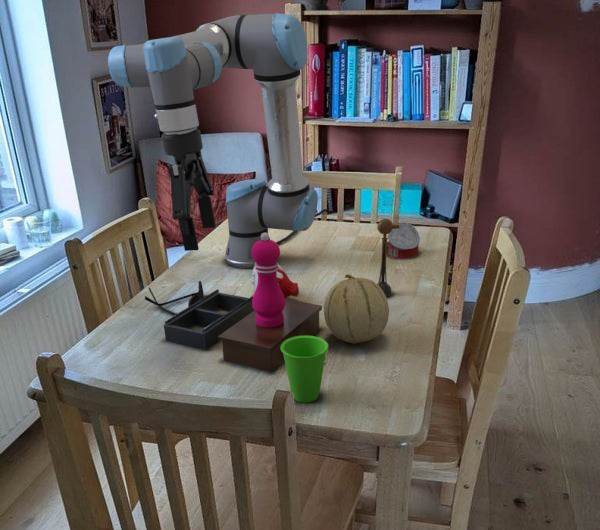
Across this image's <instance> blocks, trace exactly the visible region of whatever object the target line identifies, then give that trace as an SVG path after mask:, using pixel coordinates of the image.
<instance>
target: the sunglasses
mask: <svg viewBox="0 0 600 530" xmlns="http://www.w3.org/2000/svg"><path fill="white" fill-rule="evenodd" d="M197 287H198V288H197V289H198V290H197V291H196V292H193V293H190V294H186V295H184V296H180V297H177V298H174V299H171V300H169V301H165V302H162V303H159V302H158V301H157V299H156V297H155V295H154V293H153V291H152V289H151V286H150V287H148V291H149V292H150V295H151V297H152V298H153V299H151V298H150V297H148V296H145V295H144V300H145V301H147V302H149V303H151V304H153V305H155V306H157V307H158V308H159V309H160V310H162V311H164V312H166V313H168V314H170V315H173V316H174V315H176V314H177V313H176V312H174V311H171V310H169V309H166V308H164V306H167V305H170V304H172V303H175V302H176V303H177V302H178V301H181V300H184V299H188V298H189V300H188V303H187V308H188V307H189V306H191V305H192V304H194V303H196V302H197V301H199V300H201V299H202V298H204V297H205V296H204V288H203V284H202V280H198V286H197ZM162 306H163V307H162Z"/></svg>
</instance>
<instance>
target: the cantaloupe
mask: <svg viewBox="0 0 600 530" xmlns="http://www.w3.org/2000/svg"><path fill="white" fill-rule="evenodd" d="M344 278H346V279H344V280H341V281H338V282H337V283H336V284H334V285H333V286H332V287H331V288H330V289H329V291H328V292H327V295H326V296H325V300H324V303H323V317H324V321H325V324H326V326H327V327H328V330H329V331H330V332H331V334H332V335H333V336H335V337H336V338H337V339H339V340H341V341H343V342H345V343H349V344H355V345H356V344H362V343H364V342H368V341H371V340H373V339H375V338H376V337H378V336H379V335H380V334H382V333H383V331H384V330H385V328H386V326H387V324H388V321H389V316H390V306H389V302H388V299H387V298H388V297H387V298H386V296H385V294H384V292H383V291H382V289H381V288H380V287H379V286H378V285H377V284H378V283H376V282H375V281H374V280H371V279H370V278H365V277H355V276H353V274H348V273H347V274H345V276H344Z"/></svg>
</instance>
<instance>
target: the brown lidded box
mask: <svg viewBox="0 0 600 530" xmlns="http://www.w3.org/2000/svg"><path fill="white" fill-rule="evenodd" d="M322 310H323V305H320V304H316V303H309V302H306V301H305V302H304V301H300V300H295V299H288V298H285V307H284V309H283V310H282V313H283V314H284V322H283V324H281V325H280V326H277V327H272V328H265V327H260V326H258V325H257V324H256V320H255V315H256V312H255V311H253V312H252V313H250V314H249V315H247V316H246V317H245V318H243V319H242V320H240V321H239V322H238V323H236V324H235V325H233V326H232V327H231V328H229V329H228V330H226V331H225V332H224V333H222V334H221V335H219V336H218V340H219V342H221V347H222V358H223V361H224V362H228V363H232V364H235V365H236V364H237V365H240V366H245V367H249V368H254V369H256V370H257V369H258V370H262V371H265V372H271V373H272V372H273V371H274V370H275V369H276V368H278V367H279V366H280V365H281V364H282V363H283V362H285V359H284V355H283V352H282V351H281V349H280V348H281V344H282V343H283V342H284V341H285V340H287V339H289V338H292V337H296V336H314V335H315V334H316V333H317V332H318V331H320V312H321V311H322Z"/></svg>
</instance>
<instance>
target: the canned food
mask: <svg viewBox="0 0 600 530" xmlns="http://www.w3.org/2000/svg"><path fill="white" fill-rule="evenodd" d="M397 224H399V229H392V231H391V232H390V233H389V234H387V238H388V239H387V254H386V257H389V258H392V259H398V260H399V259H400V260H405V259H406V260H407V259H413V258H416V257H417V256H418V255H419V246H420V243H421V242H420V241H421V237H420V234H419V232H418V230H417V229H416V227H415V226H414V225H413V224H411V223H408V222H399V223H397Z"/></svg>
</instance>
